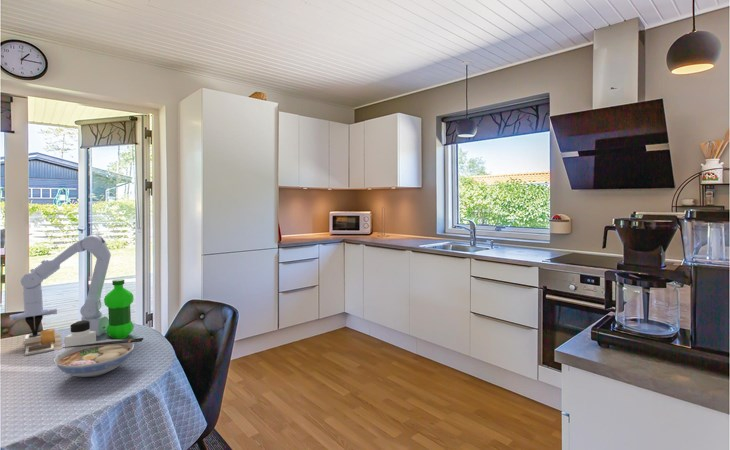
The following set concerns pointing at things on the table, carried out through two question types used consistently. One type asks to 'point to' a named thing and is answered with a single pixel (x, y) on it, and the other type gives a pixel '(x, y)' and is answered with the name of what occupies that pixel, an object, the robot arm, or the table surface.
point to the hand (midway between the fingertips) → (35, 334)
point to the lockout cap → (47, 336)
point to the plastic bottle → (119, 310)
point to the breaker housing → (32, 339)
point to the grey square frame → (39, 350)
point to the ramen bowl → (95, 357)
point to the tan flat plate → (56, 346)
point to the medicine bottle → (80, 334)
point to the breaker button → (35, 335)
